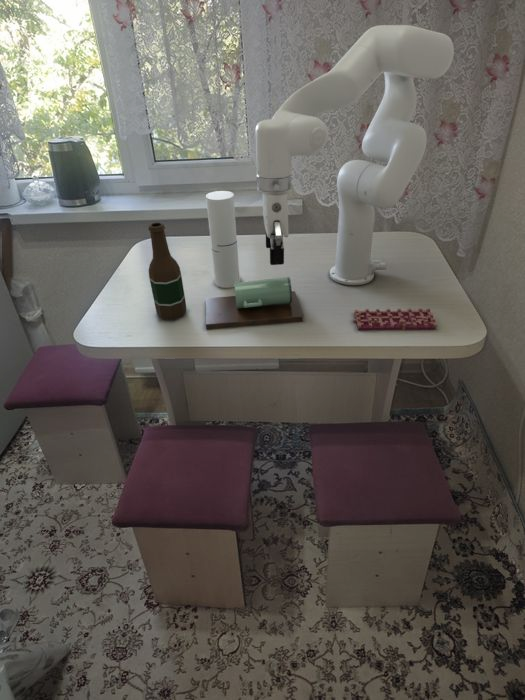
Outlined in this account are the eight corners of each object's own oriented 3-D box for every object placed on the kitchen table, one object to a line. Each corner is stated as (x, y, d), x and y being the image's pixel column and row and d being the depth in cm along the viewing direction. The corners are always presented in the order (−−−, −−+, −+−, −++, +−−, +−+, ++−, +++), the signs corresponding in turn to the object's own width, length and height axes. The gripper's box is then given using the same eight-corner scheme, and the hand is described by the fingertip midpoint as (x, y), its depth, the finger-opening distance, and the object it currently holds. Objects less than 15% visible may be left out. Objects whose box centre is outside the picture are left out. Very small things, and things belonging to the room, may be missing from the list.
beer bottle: (173, 324, 114) (157, 233, 100) (150, 316, 118) (131, 227, 103) (193, 310, 119) (180, 221, 105) (170, 302, 123) (155, 216, 109)
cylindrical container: (236, 288, 128) (229, 200, 113) (212, 287, 129) (202, 199, 114) (242, 277, 134) (236, 191, 119) (219, 275, 135) (210, 190, 120)
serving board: (294, 295, 124) (294, 291, 123) (302, 321, 113) (302, 316, 112) (206, 302, 122) (206, 298, 121) (206, 329, 112) (205, 324, 111)
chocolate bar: (351, 314, 115) (352, 307, 114) (427, 313, 114) (429, 306, 113) (355, 330, 109) (356, 323, 108) (435, 329, 108) (437, 322, 107)
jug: (236, 300, 120) (288, 294, 120) (238, 319, 112) (294, 312, 113) (233, 278, 116) (288, 272, 116) (235, 295, 108) (293, 289, 109)
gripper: (297, 194, 93) (295, 270, 103) (285, 171, 107) (285, 240, 117) (260, 196, 92) (262, 272, 102) (253, 173, 106) (256, 242, 116)
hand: (274, 255), depth 109 cm, fingers open, 9 cm apart
